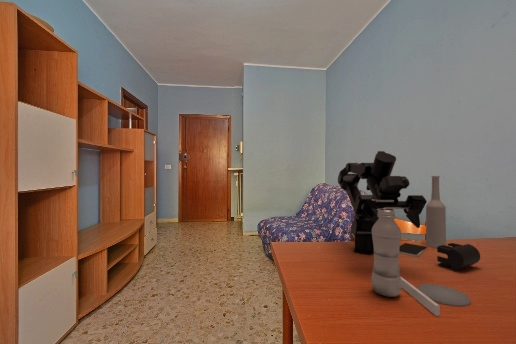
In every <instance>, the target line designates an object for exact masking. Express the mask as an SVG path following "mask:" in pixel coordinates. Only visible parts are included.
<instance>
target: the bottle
mask: <svg viewBox="0 0 516 344" xmlns="http://www.w3.org/2000/svg"><path fill="white" fill-rule="evenodd" d="M430 198H431V199H430V200H429V202H427V203H426V204H425V246H427V245H428V246H427V247H429V246H430V247H429V248H433V247H435V248H434V249H437V247H438V246H441V245H445V246H447V223H446V222H447V219H446V217H447V215H446V213H447V212H446V210H447V209H446V205H445V204H444V203H443V202H442V200H441V194H440V175H431V195H430Z"/></svg>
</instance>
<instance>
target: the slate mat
mask: <svg viewBox="0 0 516 344" xmlns="http://www.w3.org/2000/svg"><path fill="white" fill-rule="evenodd" d="M416 288H417V289H418V290H419V291H421V292H422V293H423V294H425V295H426V296H427V297H429V298H430V299H431V300H433V301H434V302H435V303H437V304H438V303H439V304H442V305H446V306H450V307H451V306H452V307H467V306H469V305H471V303H472V302H471V301H472V300H471V298H470V297H469V296H468V295H467V294H466V293H464V292H462V291H461V290H458V289H455V288H452V287H448V286H445V285H441V284H434V283H423V284H419V285H418V286H416Z"/></svg>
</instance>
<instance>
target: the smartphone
mask: <svg viewBox="0 0 516 344" xmlns="http://www.w3.org/2000/svg"><path fill="white" fill-rule="evenodd" d="M427 249H428V246H426V245H425V246H424V245H419V244H414V243H408V242H404V243H402V244H400V248H399V255H400V254H401V255H405V256H410V257H414V258H417V257H419V256H421V255H422V254H423V253H424V252H425V251H426V250H427ZM421 253H422V254H421Z"/></svg>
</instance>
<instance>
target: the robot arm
mask: <svg viewBox="0 0 516 344" xmlns="http://www.w3.org/2000/svg"><path fill="white" fill-rule="evenodd" d="M396 161H397V158H396V156H395V155H393V154H392V153H388V152H386V151H383V150H378V151H377V153H376V154H375V156H374V160H373V162H360V163H358V162H347V163H346V164H345V167H343V168H342V169H341V170H340V171H339V173H338V176H337V184H338V185H339V186H340V189H341V190H344V191H345V192H346V193H347V196H348V198H349V201H350V205H351V206H352V209H353V211H354V218H353V221H352V223H351V225H350V233H351V234H352V235H353V236H354V249H353V252H354V253H361V254H364V255H365V254H366V255H371V256H372V255H373V256H374V245H373V239H372V227H373V225H374V224H375V223H376V221H377V220H378V219H379V217H378V216H377V214H378V209H379V208H386V209H394V210H403V212H404V214H406V215H405V216H406V218H407V219H408V220H409V221H410V222H411V223H412V224H413V226H414V227H416V228H417V229H420V228H421V221H420V215H421V213H422V211H423V209H424V208H425V207H426V205H427V203H428V201H427V199H426V198H425V196H424V195H419V194H415V195H414V194H413V195H412V194H411V195H407V197H406V199H405V200H399V199H398V198H400V197H401V195H402V193H401V191H402V190H405V189H408V187H409V186H410V184H411V183H410V180H409V179H408V177H406V176H403V175H402V176H401V175H392V172H393V169H394V166H395V164H396ZM360 180H365V181H366V188H365V189H366V191H370V193H371V194H361V191H360V189H359V183H360Z"/></svg>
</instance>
